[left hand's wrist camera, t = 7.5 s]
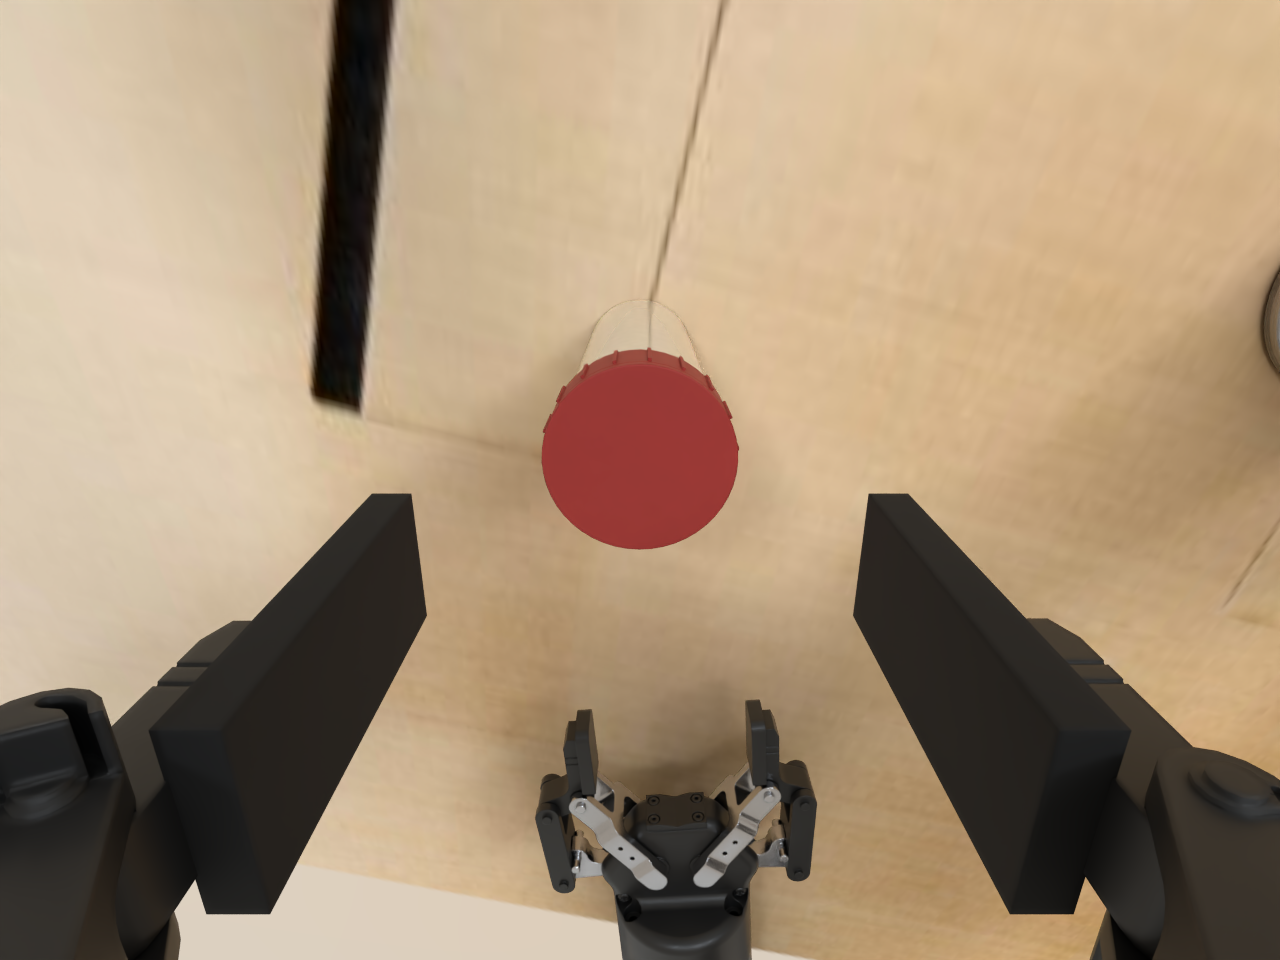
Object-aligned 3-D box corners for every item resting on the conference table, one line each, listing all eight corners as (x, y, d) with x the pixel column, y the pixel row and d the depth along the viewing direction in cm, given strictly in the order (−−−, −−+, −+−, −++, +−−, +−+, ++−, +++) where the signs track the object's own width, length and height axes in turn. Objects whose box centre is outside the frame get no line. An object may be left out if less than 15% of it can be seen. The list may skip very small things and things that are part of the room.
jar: (674, 411, 35) (697, 553, 21) (579, 385, 35) (535, 512, 20) (703, 315, 33) (751, 396, 19) (603, 287, 33) (574, 348, 18)
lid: (700, 539, 22) (706, 571, 20) (530, 496, 22) (519, 524, 20) (756, 376, 20) (768, 394, 18) (571, 324, 20) (564, 337, 18)
